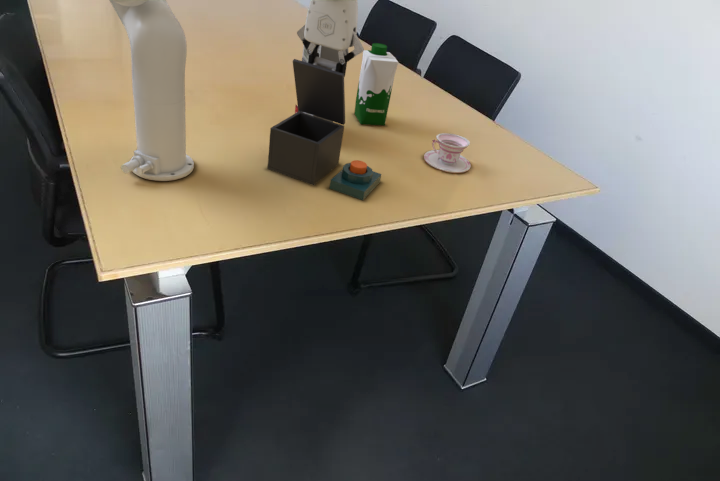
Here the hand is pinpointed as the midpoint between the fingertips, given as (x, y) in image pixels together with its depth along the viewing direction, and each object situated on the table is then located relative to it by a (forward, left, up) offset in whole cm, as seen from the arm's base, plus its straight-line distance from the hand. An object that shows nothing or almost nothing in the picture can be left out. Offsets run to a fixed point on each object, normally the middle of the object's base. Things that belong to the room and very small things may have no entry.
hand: (325, 75), depth 122 cm
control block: (-6, -13, -20) cm, 24 cm away
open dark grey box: (-6, 0, -20) cm, 21 cm away
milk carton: (+31, -1, -20) cm, 37 cm away
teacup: (+20, -27, -20) cm, 39 cm away
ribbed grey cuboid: (+13, +8, -20) cm, 25 cm away
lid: (-2, 0, -4) cm, 4 cm away
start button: (-6, -13, -16) cm, 22 cm away
